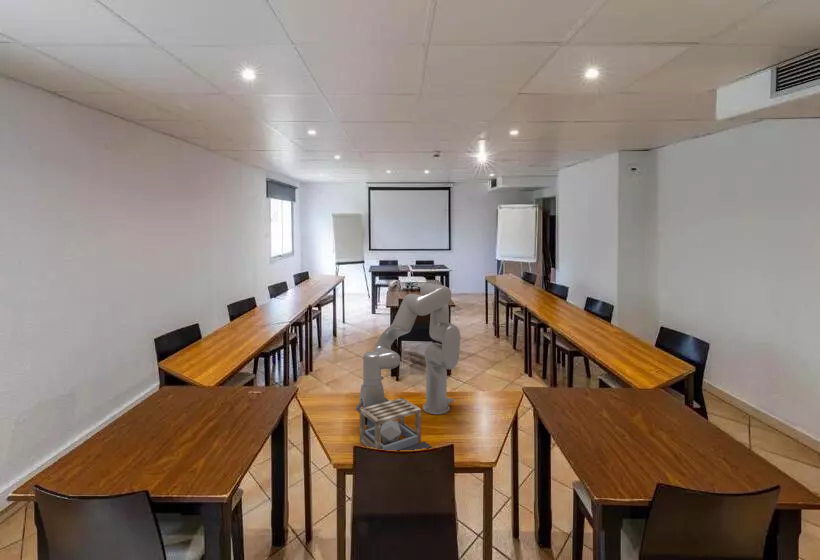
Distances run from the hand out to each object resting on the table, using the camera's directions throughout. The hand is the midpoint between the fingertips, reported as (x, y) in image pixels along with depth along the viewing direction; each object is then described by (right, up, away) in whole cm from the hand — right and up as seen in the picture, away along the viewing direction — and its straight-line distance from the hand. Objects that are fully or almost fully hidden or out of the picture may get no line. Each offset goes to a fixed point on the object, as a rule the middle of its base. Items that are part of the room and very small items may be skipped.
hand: (372, 421), depth 180 cm
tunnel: (+8, -4, -12) cm, 15 cm away
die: (+8, -4, -12) cm, 15 cm away
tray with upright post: (+6, -4, -8) cm, 11 cm away
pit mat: (+18, -5, -17) cm, 26 cm away
